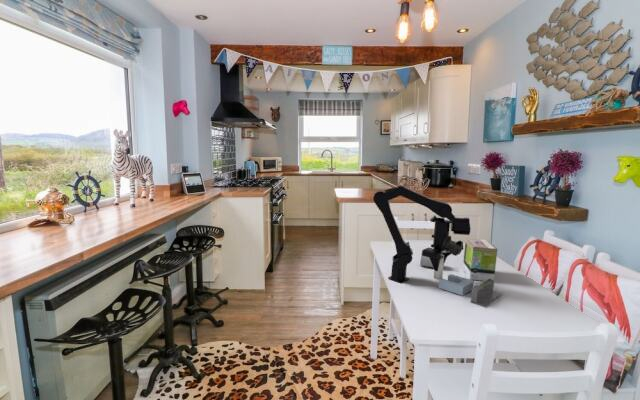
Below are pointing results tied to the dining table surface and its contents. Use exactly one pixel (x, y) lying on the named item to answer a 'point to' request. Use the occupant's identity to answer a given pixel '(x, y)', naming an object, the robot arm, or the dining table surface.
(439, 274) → the dowel
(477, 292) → the stop wall
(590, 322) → the dining table surface
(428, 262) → the ceramic mug
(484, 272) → the tea box
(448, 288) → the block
